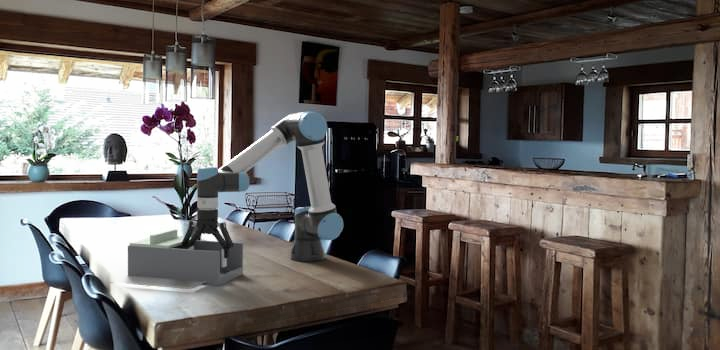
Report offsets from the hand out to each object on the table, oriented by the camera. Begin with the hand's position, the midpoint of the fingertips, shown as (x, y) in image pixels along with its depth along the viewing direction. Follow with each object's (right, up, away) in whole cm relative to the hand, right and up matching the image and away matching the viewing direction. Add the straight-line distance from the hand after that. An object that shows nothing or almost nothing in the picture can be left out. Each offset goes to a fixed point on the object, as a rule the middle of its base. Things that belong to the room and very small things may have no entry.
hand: (207, 265), depth 219 cm
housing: (-8, -4, +2) cm, 10 cm away
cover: (-17, +8, +4) cm, 20 cm away
